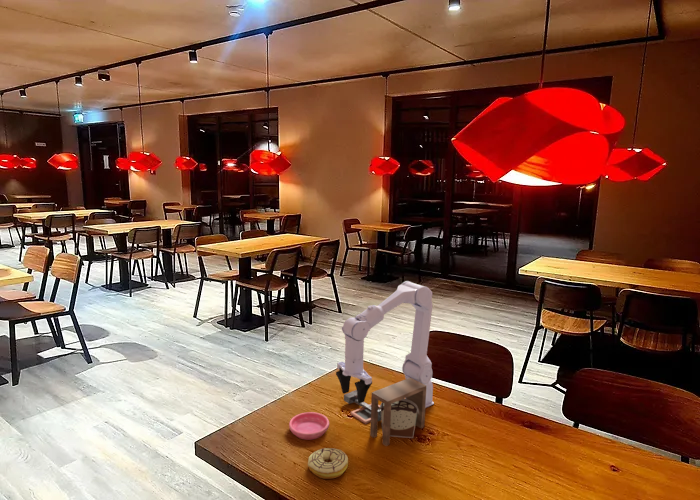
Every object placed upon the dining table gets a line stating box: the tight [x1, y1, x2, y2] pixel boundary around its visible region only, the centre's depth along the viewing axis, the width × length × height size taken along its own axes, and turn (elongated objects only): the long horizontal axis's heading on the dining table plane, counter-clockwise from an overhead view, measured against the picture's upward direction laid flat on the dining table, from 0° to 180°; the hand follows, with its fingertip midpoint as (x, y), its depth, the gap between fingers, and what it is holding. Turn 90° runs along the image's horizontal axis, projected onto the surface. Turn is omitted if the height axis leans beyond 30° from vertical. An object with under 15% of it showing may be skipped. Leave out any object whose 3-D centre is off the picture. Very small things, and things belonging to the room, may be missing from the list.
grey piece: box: [343, 389, 382, 422], centre depth 150 cm, size 8×17×4 cm, turn 39°
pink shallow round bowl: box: [288, 411, 330, 441], centre depth 138 cm, size 12×12×3 cm
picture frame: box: [350, 403, 381, 425], centre depth 149 cm, size 11×8×1 cm
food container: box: [379, 398, 419, 439], centre depth 138 cm, size 12×6×10 cm, turn 84°
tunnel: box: [369, 378, 427, 447], centre depth 138 cm, size 17×7×14 cm, turn 129°
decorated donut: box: [307, 447, 349, 480], centre depth 120 cm, size 10×11×4 cm
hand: (353, 397), depth 140 cm, fingers open, 7 cm apart
